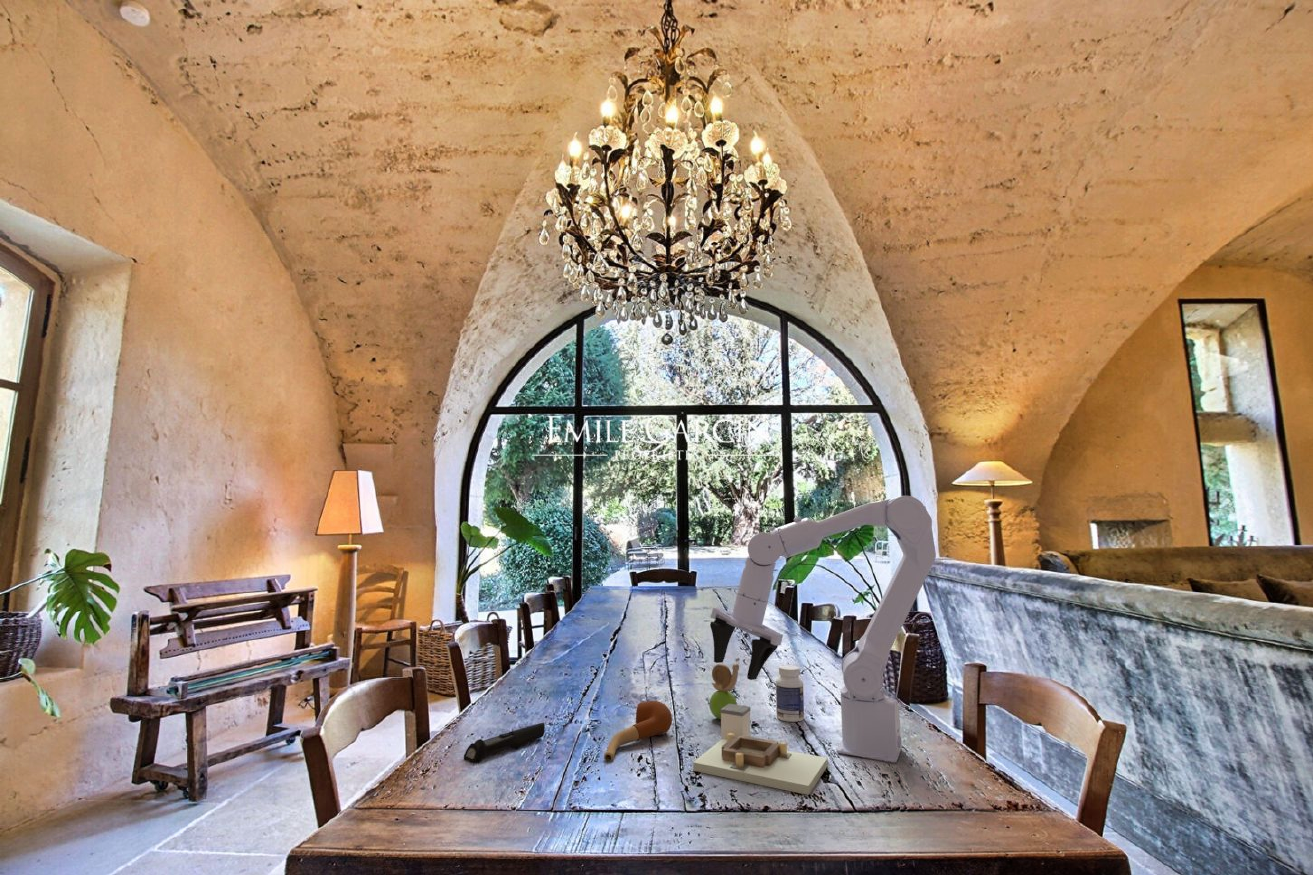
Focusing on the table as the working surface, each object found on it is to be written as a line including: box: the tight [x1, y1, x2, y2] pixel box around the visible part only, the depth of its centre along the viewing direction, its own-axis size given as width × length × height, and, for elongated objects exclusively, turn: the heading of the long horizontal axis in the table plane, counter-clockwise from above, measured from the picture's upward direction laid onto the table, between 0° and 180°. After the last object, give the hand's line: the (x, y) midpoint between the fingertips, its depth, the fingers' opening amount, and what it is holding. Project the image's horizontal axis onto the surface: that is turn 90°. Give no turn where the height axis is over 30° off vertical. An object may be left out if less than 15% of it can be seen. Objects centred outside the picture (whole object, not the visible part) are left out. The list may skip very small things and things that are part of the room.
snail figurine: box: [708, 657, 741, 720], centre depth 120 cm, size 5×6×12 cm
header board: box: [692, 733, 829, 796], centre depth 95 cm, size 18×12×3 cm, turn 62°
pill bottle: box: [775, 664, 805, 723], centre depth 121 cm, size 5×5×10 cm
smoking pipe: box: [603, 700, 673, 762], centre depth 106 cm, size 7×18×6 cm, turn 157°
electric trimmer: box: [463, 722, 546, 764], centre depth 103 cm, size 4×15×3 cm, turn 140°
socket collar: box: [722, 735, 779, 768], centre depth 97 cm, size 8×8×2 cm
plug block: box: [720, 704, 751, 740], centre depth 108 cm, size 4×4×6 cm
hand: (734, 670), depth 110 cm, fingers open, 7 cm apart
